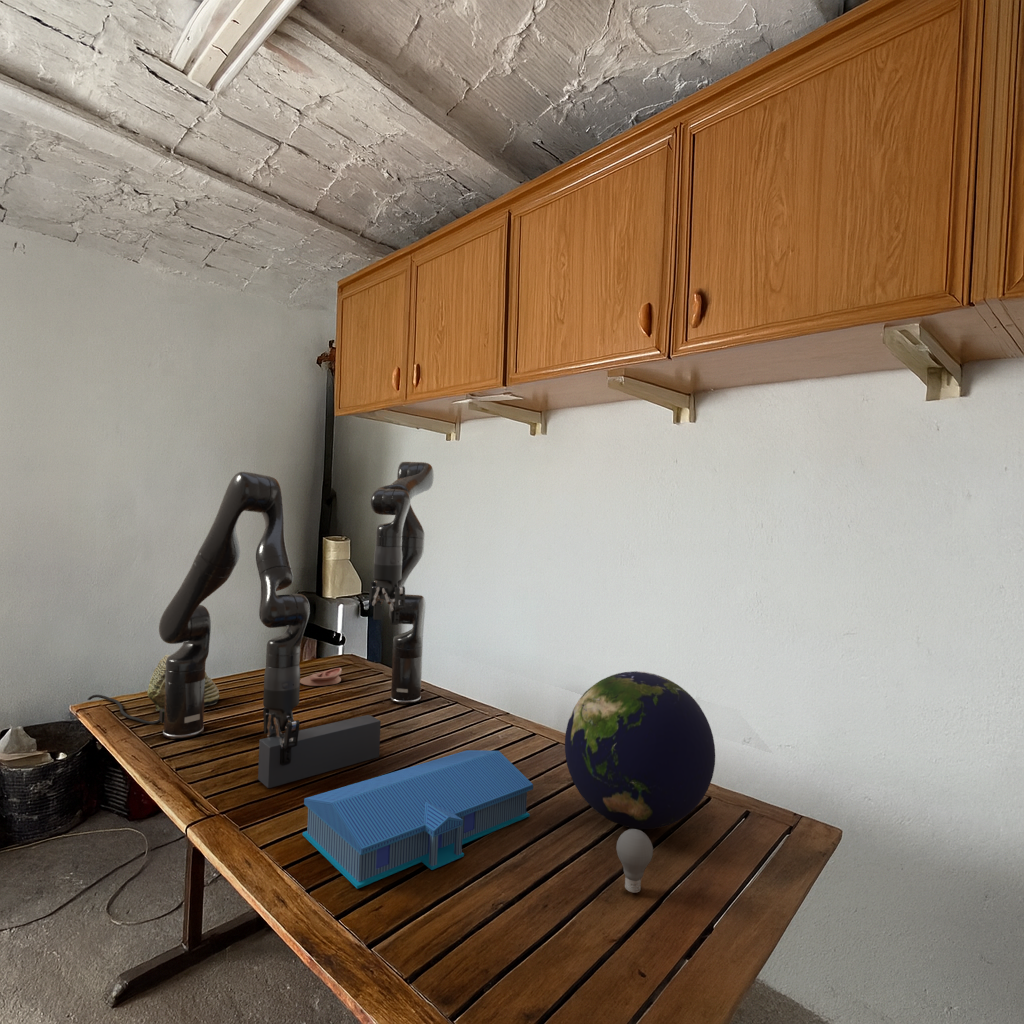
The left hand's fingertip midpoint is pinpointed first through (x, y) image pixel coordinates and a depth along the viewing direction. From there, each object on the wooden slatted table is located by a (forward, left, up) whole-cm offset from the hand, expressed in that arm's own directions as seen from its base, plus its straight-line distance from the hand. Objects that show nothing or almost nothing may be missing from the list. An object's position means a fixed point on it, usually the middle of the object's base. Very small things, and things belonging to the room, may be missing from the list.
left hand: (279, 759), depth 141 cm
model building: (+37, +13, -5) cm, 40 cm away
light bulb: (+75, +28, -5) cm, 80 cm away
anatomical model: (-63, +41, -5) cm, 75 cm away
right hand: (-12, +34, +25) cm, 44 cm away
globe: (+61, +48, -5) cm, 78 cm away
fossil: (-62, -2, -5) cm, 63 cm away
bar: (0, +10, -5) cm, 11 cm away
